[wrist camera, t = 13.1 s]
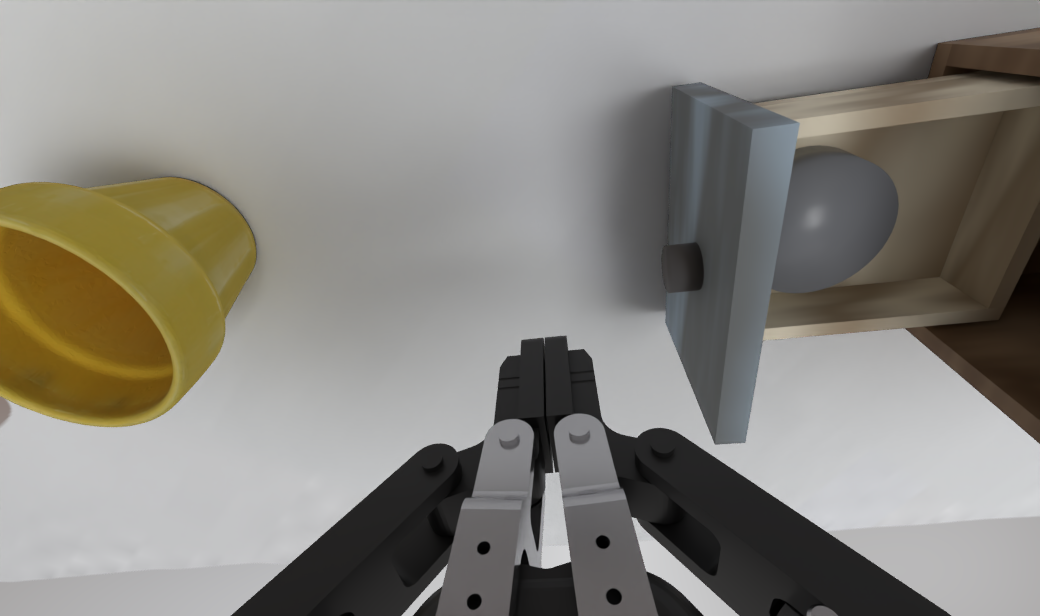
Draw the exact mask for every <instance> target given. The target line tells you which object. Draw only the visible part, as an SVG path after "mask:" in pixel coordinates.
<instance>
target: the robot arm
mask: <svg viewBox="0 0 1040 616" xmlns="http://www.w3.org/2000/svg"><path fill="white" fill-rule="evenodd" d="M552 454H553V455H552ZM553 461H554V467H555V472H559V475H560V483H561V490H562V499H563V506H564V514H565V521H566V528H567V536H568V543H569V550H570V557H571V562H569V563H566V564H563V565H559V566H556V567H554V568H549V569H542V568H541V553H542V539H543V524H544V510H545V492H544V491H545V473H553ZM631 517H634V518H637V520H638V522H639V523H640V525H641V526H642V527H643V528H644V529H645V530H646V531H647V532H648V533H649V534H650V535H651V536H652V537H654V538H655V539H656V540H657V541H658V542H659V543H660V544H661V545H662V546H664V547H665V548H666V549H667V550H668V551H669V552H670V553H671V554H672V555H673V556H675V557H676V558H677V559H678V560H679V561H680V562H681V563H682V564H683V565H684V566H685V567H687V568H688V569H689V570H690V571H691V572H692V573H693V574H694V575H695V576H696V577H698V578H699V579H700V580H701V581H702V582H703V583H704V584H705V585H706V586H707V587H709V588H710V589H711V590H712V591H713V592H714V593H715V594H716V595H717V596H718V597H720V598H721V599H722V600H723V601H724V602H725V603H726V604H727V605H728V606H729V607H731V608H732V609H733V610H734V611H735V612H736V613H737V614H738V615H739V616H951V615H950V614H948V613H947V612H946V611H944V610H943V609H941V608H940V607H938V606H936V605H935V604H934V603H932V602H930V601H929V600H928V599H926V598H925V597H923V596H922V595H920V594H919V593H917V592H916V591H914V590H913V589H911V588H909V587H908V586H907V585H905V584H904V583H902V582H901V581H899V580H898V579H896V578H895V577H893V576H892V575H890V574H889V573H887V572H886V571H884V570H883V569H881V568H880V567H878V566H877V565H875V564H874V563H872V562H871V561H869V560H868V559H866V558H865V557H863V556H861V555H860V554H859V553H857V552H856V551H854V550H853V549H851V548H850V547H848V546H847V545H845V544H844V543H842V542H840V541H839V540H838V539H836V538H835V537H833V536H832V535H830V534H829V533H827V532H826V531H824V530H823V529H821V528H820V527H818V526H817V525H815V524H814V523H812V522H811V521H809V520H808V519H806V518H805V517H803V516H802V515H800V514H799V513H797V512H796V511H794V510H793V509H791V508H790V507H788V506H787V505H785V504H784V503H782V502H781V501H779V500H778V499H776V498H775V497H773V496H772V495H770V494H769V493H767V492H766V491H764V490H763V489H761V488H760V487H758V486H757V485H755V484H754V483H752V482H751V481H749V480H748V479H746V478H745V477H743V476H742V475H740V474H739V473H737V472H736V471H734V470H733V469H731V468H730V467H728V466H727V465H725V464H724V463H722V462H721V461H719V460H718V459H716V458H715V457H713V456H712V455H710V454H709V453H707V452H706V451H704V450H703V449H701V448H700V447H698V446H697V445H695V444H694V443H692V442H691V441H689V440H688V439H686V438H685V437H683V436H682V435H680V434H679V433H677V432H675V431H673V430H669V429H665V428H654V429H650V430H647V431H645V432H643V433H642V434H640V435H639V436H638V438H635V437H630V436H625V435H621V434H618V433H616V432H614V431H612V430H611V429H610V428H608V427H607V426H606V425H605V423H604V422H603V420H602V417H601V413H600V406H599V400H598V394H597V387H596V382H595V375H594V369H593V362H592V358H591V357H590V356H589V355H588V353H587V352H586V351H585V350H584V349H581V350H570V351H568V345H567V336H557V337H546V338H545V344H544V339H543V338H537V339H527V340H522V341H521V355H518V356H507V358H506V359H505V361H504V362H503V364H502V365H501V367H500V373H499V382H498V391H497V400H496V410H495V419H494V425H493V426H492V427H491V428H490V429H489V431H488V432H487V434H486V436H485V440H483V441H482V442H481V443H479V444H477V445H475V446H473V447H471V448H468V449H465V450H462V451H459V452H456V450H455V449H454V448H453V447H451V446H449V445H447V444H432V445H429V446H427V447H424V448H423V449H421V450H420V451H418V452H417V453H416V454H415V455H414V456H412V457H411V458H410V459H409V460H408V461H407V462H406V463H404V464H403V465H402V466H401V467H400V468H399V469H398V470H397V471H395V472H394V473H393V474H392V475H391V476H390V477H389V478H387V479H386V480H385V481H384V482H383V483H382V484H381V485H379V486H378V487H377V488H376V489H375V490H374V491H373V492H371V493H370V494H369V495H368V496H367V497H366V498H365V499H363V500H362V501H361V502H360V503H359V504H358V505H357V506H355V507H354V508H353V509H352V510H351V511H350V512H349V513H347V514H346V515H345V516H344V517H343V518H342V519H341V520H339V521H338V522H337V523H336V524H335V525H334V526H333V527H331V528H330V529H329V530H328V531H327V532H326V533H325V534H324V535H322V536H321V537H320V538H319V539H318V540H317V541H316V542H314V543H313V544H312V545H311V546H310V547H309V548H308V549H306V550H305V551H304V552H303V553H302V554H301V555H300V556H298V557H297V558H296V559H295V560H294V561H293V562H292V563H290V564H289V565H288V566H287V567H286V568H285V569H284V570H283V571H281V572H280V573H279V574H278V575H277V576H276V577H274V578H273V579H272V580H271V581H270V582H269V583H268V584H266V585H265V586H264V587H263V588H262V589H261V590H260V591H258V592H257V593H256V594H255V595H254V596H253V597H252V598H251V599H250V600H248V601H247V602H246V603H245V604H244V605H243V606H241V607H240V608H239V609H238V610H237V611H236V612H235V613H233V614H232V615H231V616H401V615H402V614H403V613H404V612H405V611H406V610H407V609H408V608H409V606H410V605H411V604H412V603H413V602H414V601H415V600H416V598H417V597H418V596H419V595H420V594H421V593H422V592H423V591H424V590H425V588H426V587H427V586H428V585H429V584H430V583H431V582H432V581H433V579H434V578H435V577H436V576H437V575H438V574H439V573H440V572H441V570H442V569H443V568H444V567H445V566H446V565H447V564H448V565H447V570H446V574H445V578H444V583H443V586H442V587H441V588H440V589H438V590H437V591H436V592H435V593H433V594H432V595H431V596H430V597H429V598H428V599H427V600H426V601H425V602H424V603H423V604H422V606H421V607H420V608H419V609H418V610H417V612H416V613H415V614H414V615H413V616H703V615H702V614H701V613H700V611H698V609H696V607H695V606H694V605H693V604H692V603H691V602H690V601H689V600H688V599H687V598H686V597H685V596H684V595H683V594H682V593H681V592H679V591H678V590H677V589H676V588H675V587H673V586H672V585H671V584H669V583H668V582H666V581H665V580H663V579H662V578H660V577H658V576H656V575H654V574H651V573H649V572H646V569H645V566H644V562H643V559H642V555H641V551H640V547H639V543H638V540H637V536H636V532H635V529H634V525H633V521H632V518H631Z"/></svg>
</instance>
